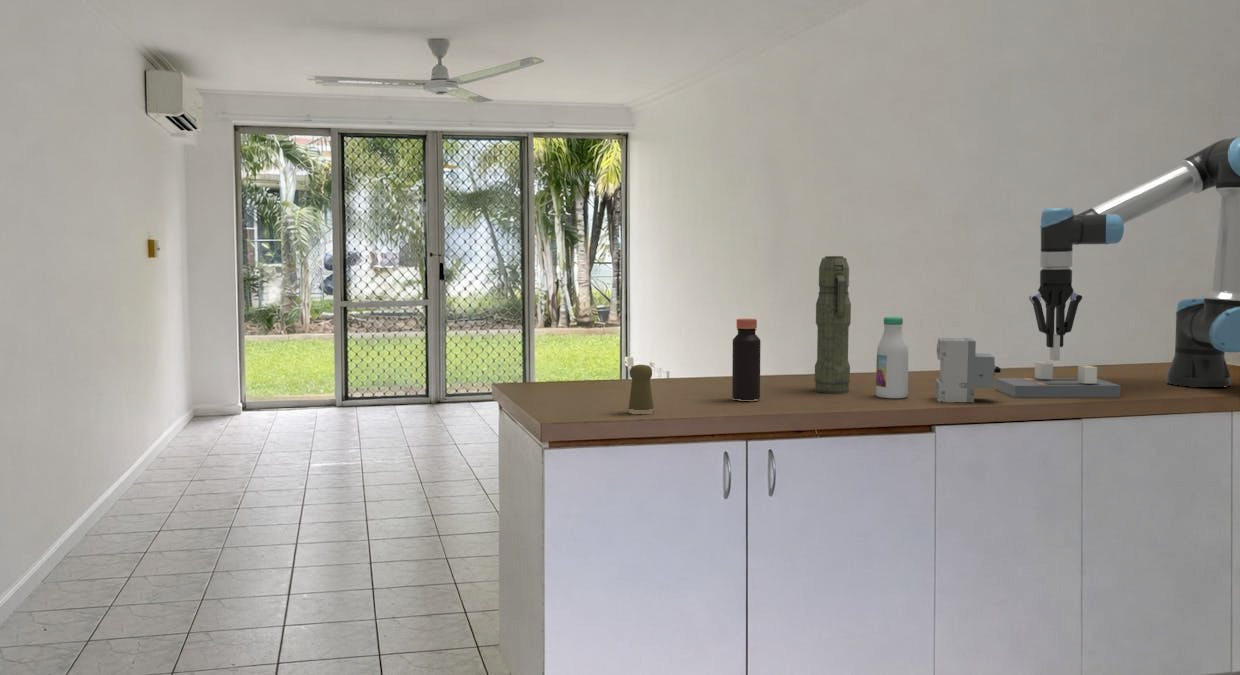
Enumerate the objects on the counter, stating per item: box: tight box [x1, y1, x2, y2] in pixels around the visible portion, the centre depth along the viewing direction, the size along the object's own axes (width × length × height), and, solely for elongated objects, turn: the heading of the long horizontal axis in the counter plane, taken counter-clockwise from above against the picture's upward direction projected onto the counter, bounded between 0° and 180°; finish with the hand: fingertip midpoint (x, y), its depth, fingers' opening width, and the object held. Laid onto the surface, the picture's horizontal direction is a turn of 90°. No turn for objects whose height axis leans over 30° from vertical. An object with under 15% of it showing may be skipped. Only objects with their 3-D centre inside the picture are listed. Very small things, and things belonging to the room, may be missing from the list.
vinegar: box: [731, 318, 761, 400], centre depth 252 cm, size 7×7×20 cm
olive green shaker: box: [628, 364, 654, 410], centre depth 235 cm, size 6×6×11 cm
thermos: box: [814, 255, 852, 394], centre depth 266 cm, size 9×12×35 cm
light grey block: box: [1034, 361, 1054, 379], centre depth 265 cm, size 3×4×4 cm
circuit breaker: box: [935, 337, 1001, 404], centre depth 251 cm, size 8×14×15 cm, turn 79°
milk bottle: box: [875, 316, 909, 399], centre depth 257 cm, size 8×8×20 cm
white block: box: [1077, 365, 1098, 383], centre depth 257 cm, size 3×4×4 cm
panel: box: [994, 377, 1122, 399], centre depth 262 cm, size 26×14×3 cm, turn 89°
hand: (1054, 359), depth 265 cm, fingers closed
